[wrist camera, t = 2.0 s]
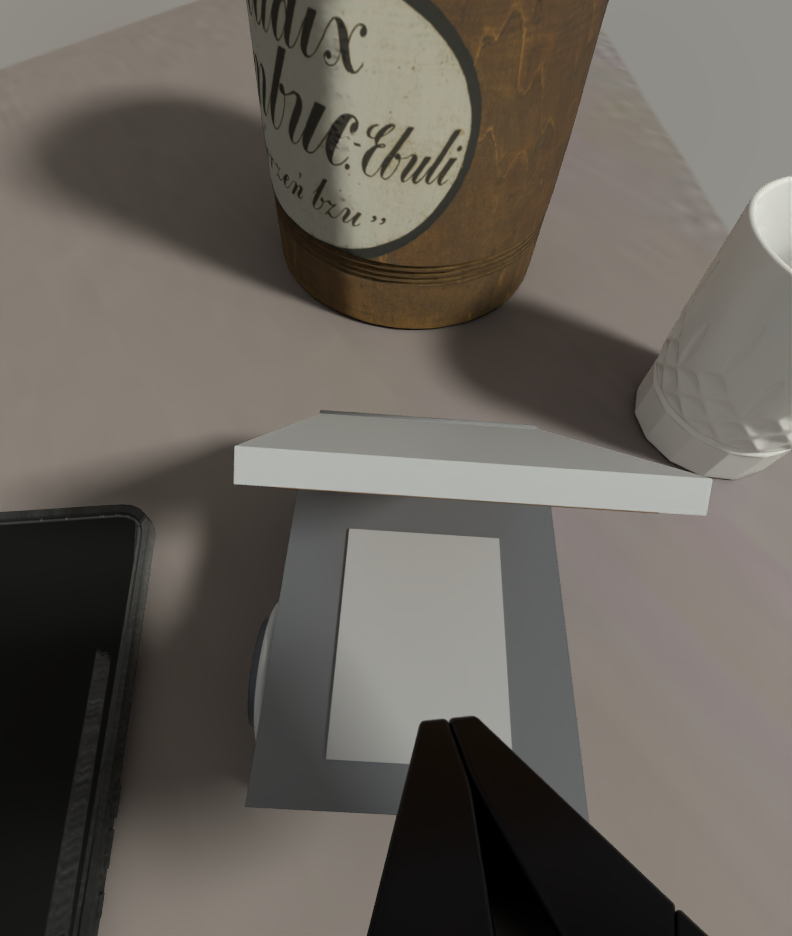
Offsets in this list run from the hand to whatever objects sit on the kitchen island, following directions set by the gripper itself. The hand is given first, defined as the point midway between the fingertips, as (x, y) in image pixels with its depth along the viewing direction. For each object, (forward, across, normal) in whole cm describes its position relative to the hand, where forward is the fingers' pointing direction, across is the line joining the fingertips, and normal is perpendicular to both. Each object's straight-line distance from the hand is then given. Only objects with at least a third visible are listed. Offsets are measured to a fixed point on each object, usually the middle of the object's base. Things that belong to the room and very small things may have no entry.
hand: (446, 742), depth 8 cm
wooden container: (+27, -3, -11) cm, 30 cm away
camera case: (+11, -1, +5) cm, 12 cm away
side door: (+6, -1, -3) cm, 7 cm away
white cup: (+17, -16, -1) cm, 24 cm away
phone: (+10, +13, +7) cm, 18 cm away
